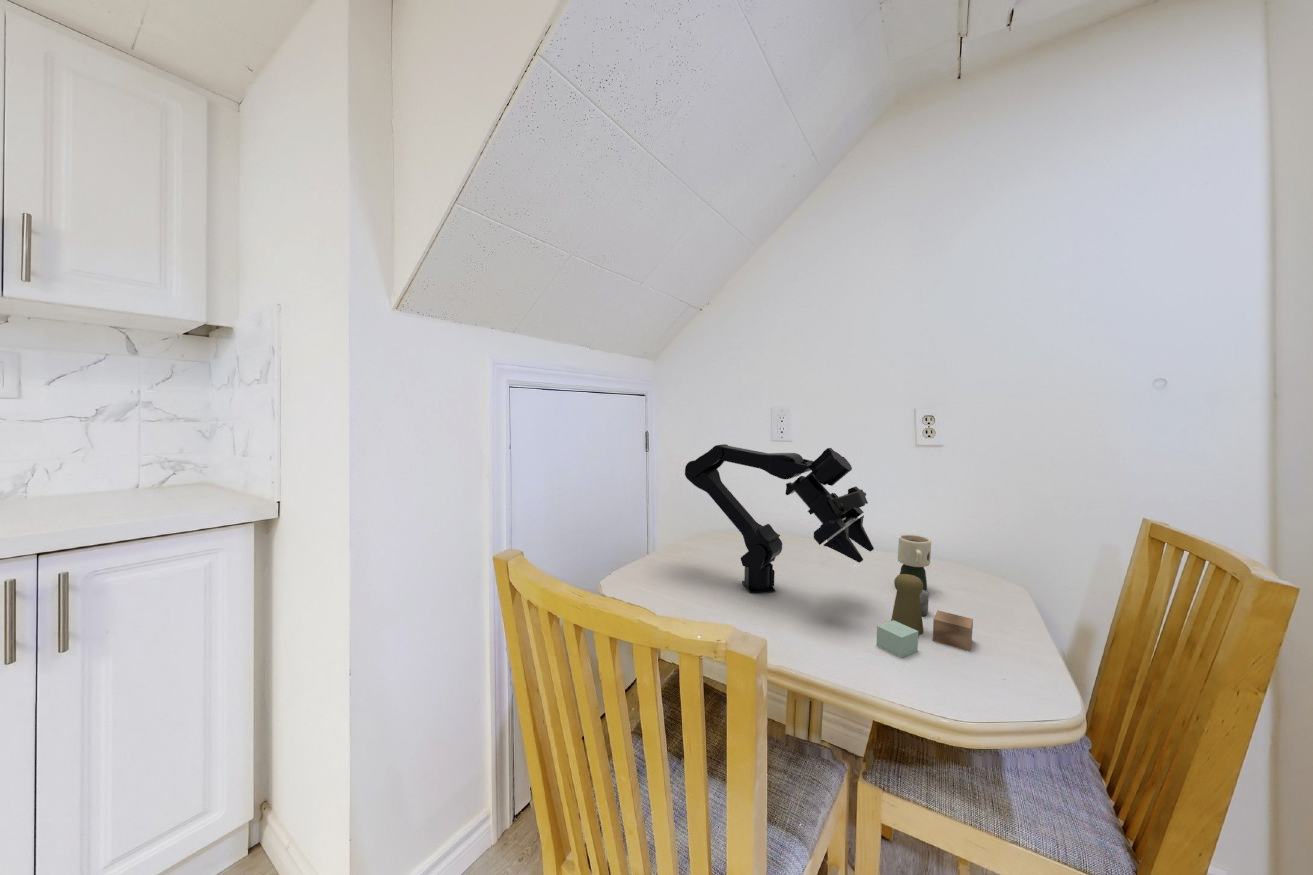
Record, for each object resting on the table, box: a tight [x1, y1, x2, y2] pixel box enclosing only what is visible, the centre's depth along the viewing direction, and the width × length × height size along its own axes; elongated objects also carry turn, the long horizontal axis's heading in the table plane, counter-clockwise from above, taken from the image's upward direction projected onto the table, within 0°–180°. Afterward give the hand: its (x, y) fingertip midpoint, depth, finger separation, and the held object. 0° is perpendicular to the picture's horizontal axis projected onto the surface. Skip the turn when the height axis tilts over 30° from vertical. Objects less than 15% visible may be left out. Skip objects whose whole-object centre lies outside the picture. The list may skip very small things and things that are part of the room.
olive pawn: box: [890, 573, 924, 636], centre depth 95 cm, size 6×6×11 cm
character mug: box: [897, 534, 932, 591], centre depth 115 cm, size 11×7×13 cm, turn 163°
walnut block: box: [932, 609, 974, 652], centre depth 90 cm, size 6×5×4 cm
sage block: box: [875, 620, 919, 659], centre depth 87 cm, size 5×5×4 cm
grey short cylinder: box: [920, 590, 930, 617], centre depth 103 cm, size 5×5×4 cm
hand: (867, 555), depth 99 cm, fingers open, 9 cm apart
